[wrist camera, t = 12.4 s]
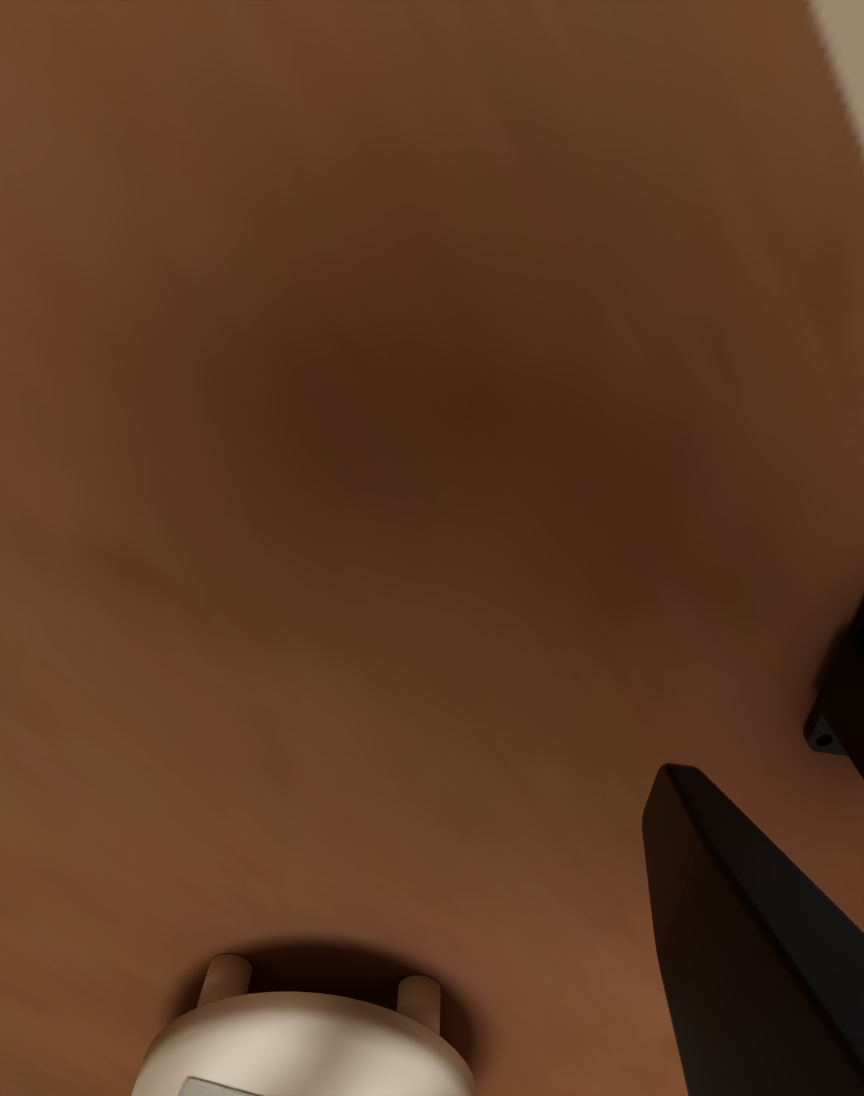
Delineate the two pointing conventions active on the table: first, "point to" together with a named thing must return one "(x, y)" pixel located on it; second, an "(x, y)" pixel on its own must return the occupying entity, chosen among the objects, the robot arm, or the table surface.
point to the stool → (305, 1043)
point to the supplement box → (206, 1089)
